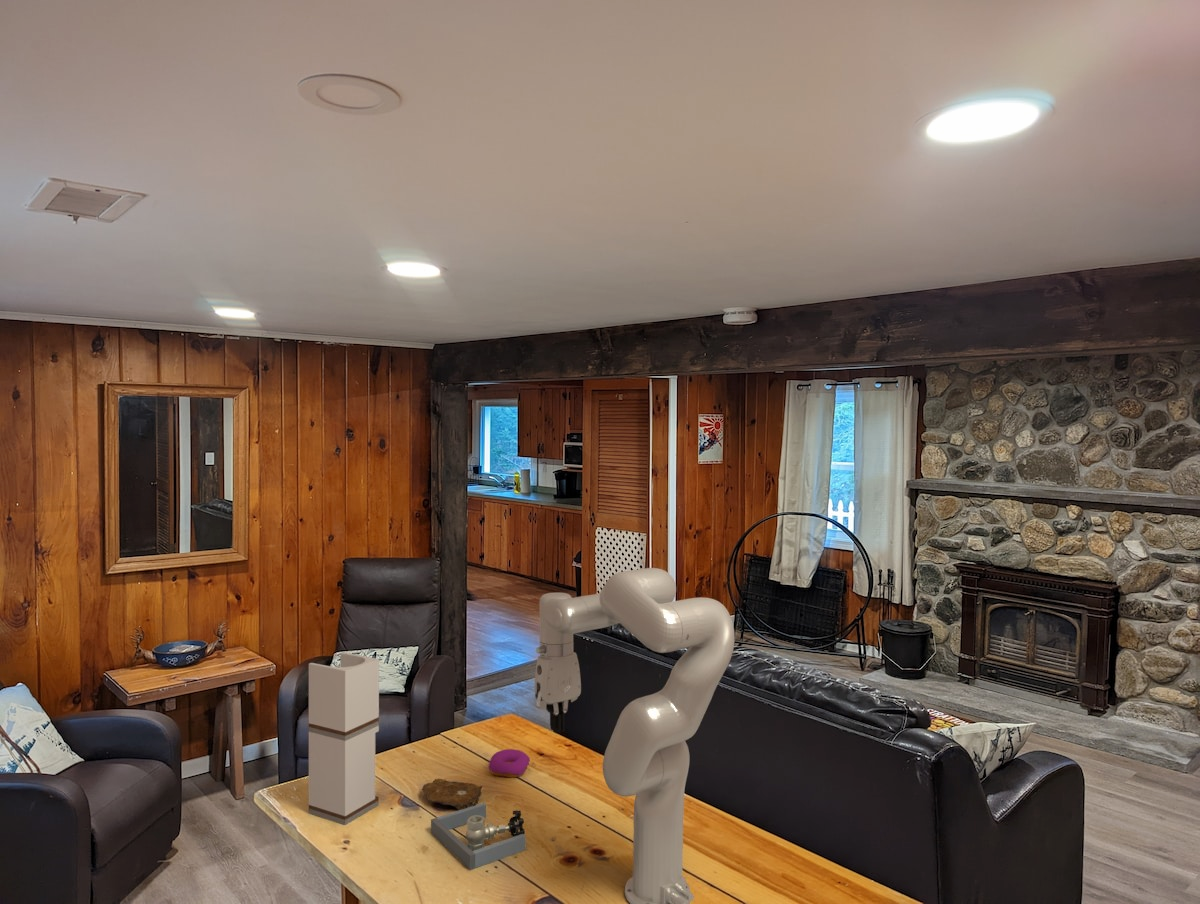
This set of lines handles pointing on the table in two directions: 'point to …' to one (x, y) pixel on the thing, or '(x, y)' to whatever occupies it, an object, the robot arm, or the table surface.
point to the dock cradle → (461, 851)
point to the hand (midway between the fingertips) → (557, 730)
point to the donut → (509, 763)
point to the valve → (490, 829)
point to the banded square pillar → (343, 737)
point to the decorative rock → (452, 793)
